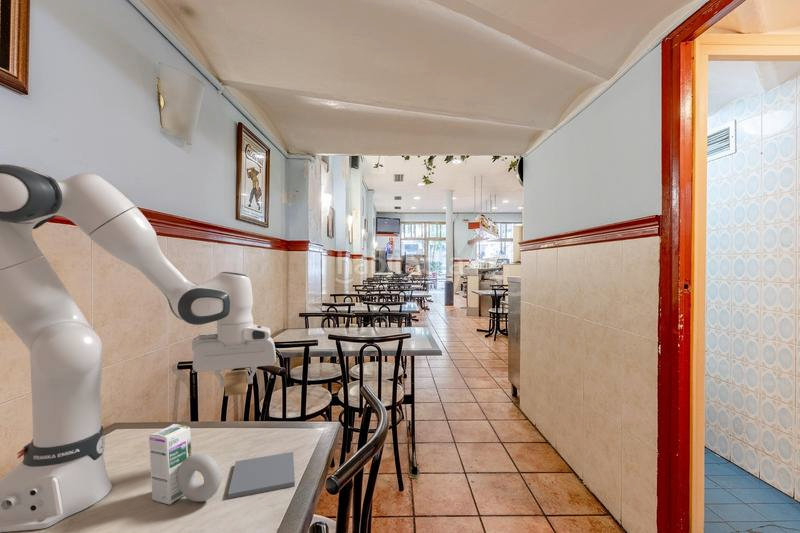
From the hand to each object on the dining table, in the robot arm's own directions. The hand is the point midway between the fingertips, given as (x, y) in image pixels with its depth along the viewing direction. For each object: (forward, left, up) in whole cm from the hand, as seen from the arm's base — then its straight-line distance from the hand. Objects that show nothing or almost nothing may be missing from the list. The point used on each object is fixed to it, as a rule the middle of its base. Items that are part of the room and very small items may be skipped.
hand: (236, 384), depth 98 cm
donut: (-6, -18, -19) cm, 27 cm away
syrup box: (-12, -14, -19) cm, 26 cm away
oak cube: (0, 0, -2) cm, 2 cm away
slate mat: (+7, -12, -19) cm, 24 cm away
